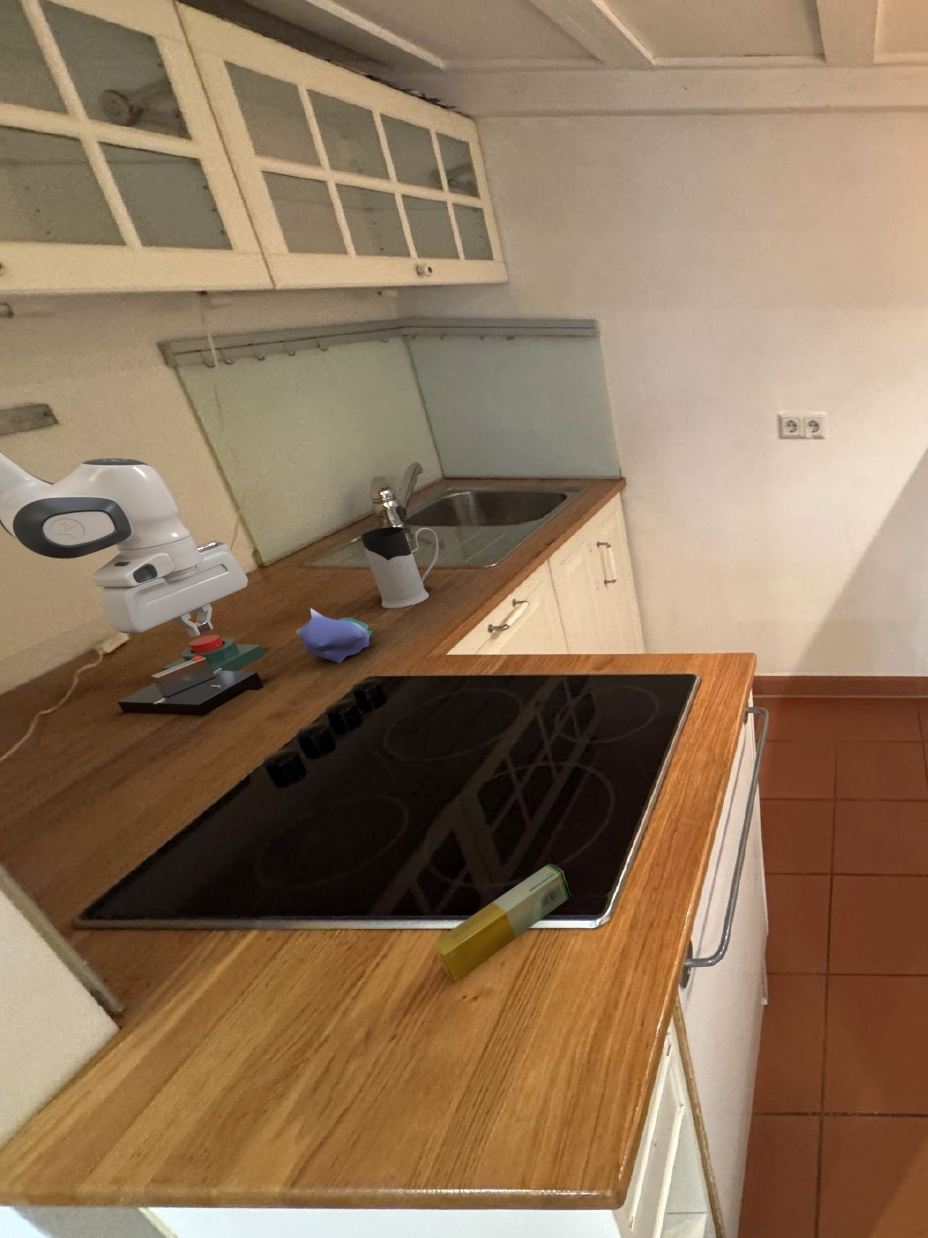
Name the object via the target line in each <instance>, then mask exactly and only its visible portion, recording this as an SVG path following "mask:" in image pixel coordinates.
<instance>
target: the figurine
mask: <svg viewBox="0 0 928 1238" xmlns="http://www.w3.org/2000/svg"><path fill="white" fill-rule="evenodd" d="M310 615H311V618H310V619H309V621H308V622H307V623H306V624H305V625H303V626H302V627H300V628H298V629H297V630H295V633H296V634H297V636H299V637H300V638H301V639H302V642H303V646H302V647H303V648H304V650H306V652H308V653H309V654H311V655H313V656H318V657H320V658H323V659H326V660H329V661H332V662H335V663H338V664H342V662H343V661H344V660H345V659H346V657H349V656H353V655H356V654H359V653H360V652H361V651H362V650H363V649H364V648H366V647H369V646H370V637H371V636H372V634H373V632H374V630H368V627H369V625H368V624H367V623H366V622H363V621H360V620H357V619H355V618H353V617H340V618H339V619H334V618H331V617H327V616H324V615H322V614H321V613H319V612H318V611H316V610H315V609H313V608H310Z"/></svg>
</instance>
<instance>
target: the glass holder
mask: <svg viewBox="0 0 928 1238" xmlns="http://www.w3.org/2000/svg"><path fill="white" fill-rule="evenodd" d="M424 530H427V531H430V532H431V533H432V535H433V538H434V542H435V550H434V556H433V559H432V560H431V563H430V564H429V566H428V567H427V569H426V570H425V572H424V573H423V575H422V576H421V574H420V571H419V568H418V565H417V562H416V559H415V556H414V554H413V553H415V552H417V551H418V550H419V543H418V535H419V533H421V531H424ZM360 538H361V541H362V544H363V546H364V547H363V548H364V552H365V555H366V558H367V562H368V564H369V567H370V569H371V572H372V575H373V578H374V581H375V583H376V587H377V589H378V592H379V594H380V597H381V606H382V608H385V609H400V608H401V609H402V608H406V606H407V607H411V606H414V605H417V604H420V603H422V602H424V601H426V600H427V599H428V598H429V596H430V594H429V593H428V591H426V589H425V587H424V580H425V579H426V577H427V575H428V574H429V573H430V572H431V570H432V569H433V567H434V565H435V563H436V562H437V559H438V557H439V549H440V547H439V540H438V539H439V538H438V536H437V534H436V532H435V531H434V530H433V529H431V528H429V527H420V528H418V529H417V530H416V531H415V533H414V535H413V541H414V546H415V548H414V549H412V550H411V548H410V543H409V540H408V538H407V535H406V532H405V529H404V527H402V526H401V527H400V526H388V527H380V528H375V529H372V530H369V531H366V532H364V533H362V534H361V535H360ZM410 605H411V606H410Z"/></svg>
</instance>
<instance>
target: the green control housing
mask: <svg viewBox="0 0 928 1238" xmlns="http://www.w3.org/2000/svg"><path fill="white" fill-rule="evenodd" d="M220 638H221V640H222V642H223V646H221V647H219V648H217V649H214V650H211V651H208V652H203V653H194V652H193V650H192V649H191V647H190V646H189V647H186V648H185V649H184V650H183V651H181V653H180V655H181V658H179V659H177V660H175V661H173V662H171V663H169V664H167V665H165V666H163V667H161V670H162V671H164V670H167V669H170V668H172V667H175V666H177V665H180V664H182V663H185V662H187V661H190V660H192V659H191V658H194V657H196V656H202V657H204V658H206V659H207V661H208V663H209V665H210V667H211V669H212V670H217V669H219V668H222V669H221V670H222V671H240V670H241V669H243V668H244V667H246V666H248V665H250V664H252V663H254V662H256V661H257V660H259V659H262V658H263V657H265V656H266V653H265V651H264V648H263V647H262V645H261V644H251V643H249V644H247V643H246V644H244V643H242V644H241V643H236V641H235V640H234V639H233V638H232V637H220Z"/></svg>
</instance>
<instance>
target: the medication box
mask: <svg viewBox="0 0 928 1238" xmlns="http://www.w3.org/2000/svg"><path fill="white" fill-rule="evenodd" d="M571 896H572V894H571V892H570V889H569V886H568V883H567V880H566V878H565V873H564V870H562V869H561V868H560V867H558V866H557V865H555V864H552V863H548V864H546V865H545V866H544V867H542V868H540V869H539V870H537V871H536V872H534V873H533V874H531V875H530V876H529V877H527V878H526V879H524V880H522V881H521V882H519V883H518V884H517V885H515V886H514V887H512V888H511V889H510V890H508V891H506V892H505V893H503V894H502V895H500V896H499V897H498V898H496V899H494V900H493V901H491V902H490V903H489V904H487V905H486V906H485V907H483V908H481V909H480V910H478V911H477V912H475V913H474V914H472V915H471V916H470V917H468V918H467V919H465V920H464V921H462V922H461V923H459V924H458V925H456V926H455V927H453V928H452V929H450V930H449V931H448V932H446V933H445V934H443V935H442V936H440V937H439V938H437V939H436V940H434V941H433V942H432V944H431V946H432V948H433V949H434V952H435V954H436V957H437V959H438V961H439V964H440V966H441V967H442V969H443V971H444V973H445V974H446V975H447V976H448V978H450V979H451V980H452V981H454V982H455V983H457V982H459V981H461V980H462V979H463V978H465V977H466V976H467V975H469V974H470V973H472V972H473V971H474V970H476V969H477V968H479V967H480V966H481V965H482V964H483V963H485V962H486V961H488V960H489V959H490V958H492V957H493V956H494V955H496V954H497V953H498V952H500V951H501V950H503V949H504V948H505V947H506V946H508V945H509V944H510V943H512V942H513V941H514V940H515V939H517V938H518V937H520V936H522V934H524V933H525V932H526V931H527V930H529V929H530V928H531V927H533V926H534V925H536V924H537V923H539V922H540V921H541V920H542V919H544V918H545V917H546V916H548V915H549V914H550V913H552V912H553V911H554V910H555V909H557V908H558V907H559V906H561V905H562V904H563V903H565V902H566V901H567V900H569V899H570V898H571Z"/></svg>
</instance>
